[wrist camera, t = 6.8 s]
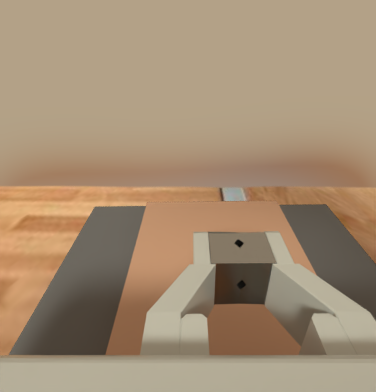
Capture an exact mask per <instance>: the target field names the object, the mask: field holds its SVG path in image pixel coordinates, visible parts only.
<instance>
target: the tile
mask: <svg viewBox="0 0 376 392" xmlns="http://www.w3.org/2000/svg"><path fill="white" fill-rule="evenodd" d="M264 231H278V232H280V234H281V236H282V238H283V240H284V242H285V244H286V246H287V249H288V251H289V253H290V255H291V257H292V259H293V261H294V263H295V264H300V265H302V266H303V267H305V268H306V269H308V270H309V271H311V272H312V273H313V274H315V275H316V273H315V271H314V269H313V267H312V265H311V264H310V262H309V260H308V258H307V256H306V254H305V252H304V251H303V249H302V247H301V245H300V243H299V241H298V239H297V238H296V236H295V234H294V232H293V230H292V228H291V226H290V225H289V223H288V221H287V219H286V217H285V215H284V213H283V212H282V210H281V208H280V206H279V204H278V202H277V201H207V202H147V205H146V208H145V212H144V216H143V219H142V223H141V226H140V230H139V234H138V237H137V241H136V245H135V248H134V252H133V256H132V259H131V263H130V267H129V270H128V274H127V278H126V281H125V285H124V289H123V292H122V296H121V300H120V303H119V307H118V311H117V314H116V318H115V322H114V325H113V329H112V333H111V336H110V340H109V343H108V347H107V351H106V354H105V355H140V351H141V345H142V339H143V333H144V327H145V321H146V315H147V312H148V311H149V310H150V309H151V307H152V306H153V305H154V304H155V303H156V302H157V301H158V299H159V298H160V297H161V296H162V295H163V294H164V293H165V291H166V290H167V289H168V288H169V287H170V286H171V285H172V283H173V282H174V281H175V280H176V279H177V278H178V277H179V275H180V274H181V273H182V272H183V271H184V270H185V269H186V267H187V266H188V265H189V264H193V232H264ZM316 276H317V275H316ZM207 327H208V341H209V355H299V352H300V349H301V346H300V345H299V344H298V343H297V342H296V341H295V339H294V338H293V337H292V336H291V335H290V334H289V333H288V332H287V330H286V329H285V328H284V327H283V326H282V325H281V324H280V322H279V321H278V320H277V319H276V318H275V317H274V316H273V315H272V313H271V312H270V311H269V310H268V309H267V308H266V307H265V304H215V305H214V307H213V309H212V311H211V312H210V314H209V316H208V318H207Z"/></svg>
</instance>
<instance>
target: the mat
mask: <svg viewBox="0 0 376 392" xmlns="http://www.w3.org/2000/svg"><path fill="white" fill-rule="evenodd" d="M279 206H280V208H281V210H282V212H283V213H284V215H285V217H286V219H287V221H288V223H289V225H290V226H291V228H292V230H293V232H294V234H295V236H296V238H297V239H298V241H299V243H300V245H301V247H302V249H303V251H304V252H305V254H306V256H307V258H308V260H309V262H310V264H311V265H312V267H313V269H314V271H315V273H316V275H317V276H318V277H319V278H321V279H322V280H324V281H325V282H327V283H328V284H329V285H331V286H332V287H334V288H335V289H337V290H338V291H340V292H341V293H342V294H344V295H345V296H347V297H348V298H350V299H351V300H353V301H354V302H356V303H357V304H358V305H360V306H361V307H363V308H364V309H366V310H367V311H369V312H370V313H371V315H372V316H373V318H374V319H375V321H376V264H375V263H374V262H373V260H372V259H371V258H370V257H369V256H368V254H367V253H366V252H365V251H364V250H363V248H362V247H361V246H360V245H359V244H358V242H357V241H356V240H355V239H354V238H353V236H352V235H351V234H350V233H349V232H348V230H347V229H346V228H345V227H344V225H343V224H342V223H341V222H340V221H339V219H338V218H337V217H336V216H335V215H334V213H333V212H332V211H331V210H330V209H329V207H328V206H327V205H326V204H323V205H279ZM145 208H146V206H117V207H95V208H94V209H93V211H92V213H91V214H90V216H89V218H88V220H87V221H86V223H85V225H84V226H83V228H82V230H81V232H80V233H79V235H78V237H77V238H76V240H75V242H74V244H73V245H72V247H71V249H70V250H69V252H68V254H67V256H66V257H65V259H64V261H63V262H62V264H61V266H60V268H59V269H58V271H57V273H56V274H55V276H54V278H53V280H52V281H51V283H50V285H49V287H48V288H47V290H46V292H45V293H44V295H43V297H42V299H41V300H40V302H39V304H38V305H37V307H36V309H35V311H34V312H33V314H32V316H31V317H30V319H29V321H28V323H27V324H26V326H25V328H24V329H23V331H22V333H21V335H20V336H19V338H18V340H17V341H16V343H15V345H14V347H13V348H12V350H11V352H10V353H9V355H105V354H106V351H107V347H108V343H109V340H110V336H111V333H112V329H113V325H114V322H115V318H116V314H117V311H118V307H119V303H120V300H121V296H122V292H123V289H124V285H125V281H126V278H127V274H128V270H129V267H130V263H131V259H132V256H133V252H134V248H135V245H136V241H137V237H138V234H139V230H140V226H141V223H142V219H143V216H144V212H145Z"/></svg>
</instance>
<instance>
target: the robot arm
mask: <svg viewBox="0 0 376 392" xmlns="http://www.w3.org/2000/svg"><path fill="white" fill-rule="evenodd" d="M215 304H265V307H266V308H267V309H268V310H269V311H270V312H271V313H272V315H273V316H274V317H275V318H276V319H277V320H278V321H279V322H280V324H281V325H282V326H283V327H284V328H285V329H286V330H287V332H288V333H289V334H290V335H291V336H292V337H293V338H294V339H295V341H296V342H297V343H298V344H299V345H300V346H301V349H300V352H299V355H209V341H208V327H207V318H208V316H209V314H210V312H211V311H212V309H213V307H214V305H215ZM0 392H376V321H375V319H374V318H373V316H372V315H371V313H370V312H369V311H367V310H366V309H364V308H363V307H361V306H360V305H358V304H357V303H356V302H354V301H353V300H351V299H350V298H348V297H347V296H345V295H344V294H342V293H341V292H340V291H338V290H337V289H335V288H334V287H332V286H331V285H329V284H328V283H327V282H325V281H324V280H322V279H321V278H319V277H318V276H316V275H315V274H313V273H312V272H311V271H309V270H308V269H306V268H305V267H303V266H302V265H300V264H295V263H294V261H293V259H292V257H291V255H290V253H289V251H288V249H287V246H286V244H285V242H284V240H283V238H282V236H281V234H280V232H278V231H264V232H193V264H189V265H188V266H187V267H186V269H185V270H184V271H183V272H182V273H181V274H180V275H179V277H178V278H177V279H176V280H175V281H174V282H173V283H172V285H171V286H170V287H169V288H168V289H167V290H166V291H165V293H164V294H163V295H162V296H161V297H160V298H159V299H158V301H157V302H156V303H155V304H154V305H153V306H152V307H151V309H150V310H149V311H148V312H147V315H146V321H145V327H144V333H143V339H142V345H141V351H140V355H0Z"/></svg>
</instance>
